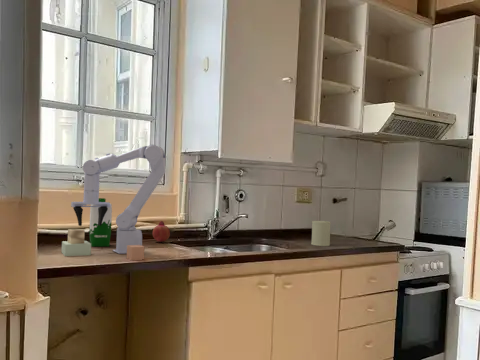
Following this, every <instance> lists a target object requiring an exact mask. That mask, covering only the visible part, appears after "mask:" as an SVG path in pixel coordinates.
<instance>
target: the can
mask: <svg viewBox="0 0 480 360" xmlns="http://www.w3.org/2000/svg"><path fill="white" fill-rule="evenodd" d="M311 223H312V224H311V243H310V244H311V245H313V246H317V247H319V246H320V247H328V246H329V247H330V246H331V243H330V241H331V224H332V223H331V221H327V220H312V221H311Z"/></svg>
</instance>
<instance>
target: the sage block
mask: <svg viewBox="0 0 480 360" xmlns="http://www.w3.org/2000/svg"><path fill="white" fill-rule="evenodd" d="M61 253H62V254H63V256H64V257H72V256H73V257H75V256H77V257H78V256H91V255H92V246H91V243H90V241H87V240H84V243H78V244H70V243H68V240H67V241H66V240H65V241H64V240H63V241H61Z"/></svg>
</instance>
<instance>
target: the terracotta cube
mask: <svg viewBox="0 0 480 360" xmlns="http://www.w3.org/2000/svg"><path fill="white" fill-rule="evenodd" d="M145 247H146V246H144V245H142V246H141V245H127V253H126V259H127V260H129V259H130V261H131V260H132V261H143V260H142V259H144V260H145Z"/></svg>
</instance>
